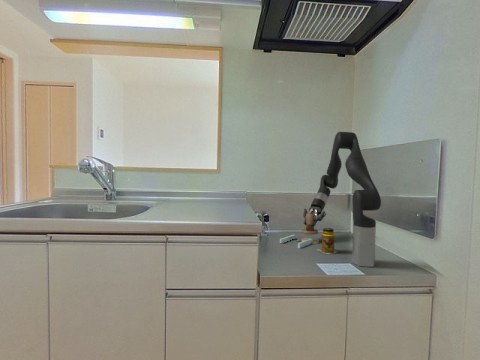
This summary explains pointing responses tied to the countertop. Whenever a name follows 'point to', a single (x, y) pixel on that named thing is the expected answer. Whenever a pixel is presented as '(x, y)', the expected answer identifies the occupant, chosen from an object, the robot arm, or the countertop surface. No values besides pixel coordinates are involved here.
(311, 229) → the wooden peg stand
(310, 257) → the countertop surface
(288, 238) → the pale blue rack
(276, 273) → the countertop surface
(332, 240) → the condiment
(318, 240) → the coaster
